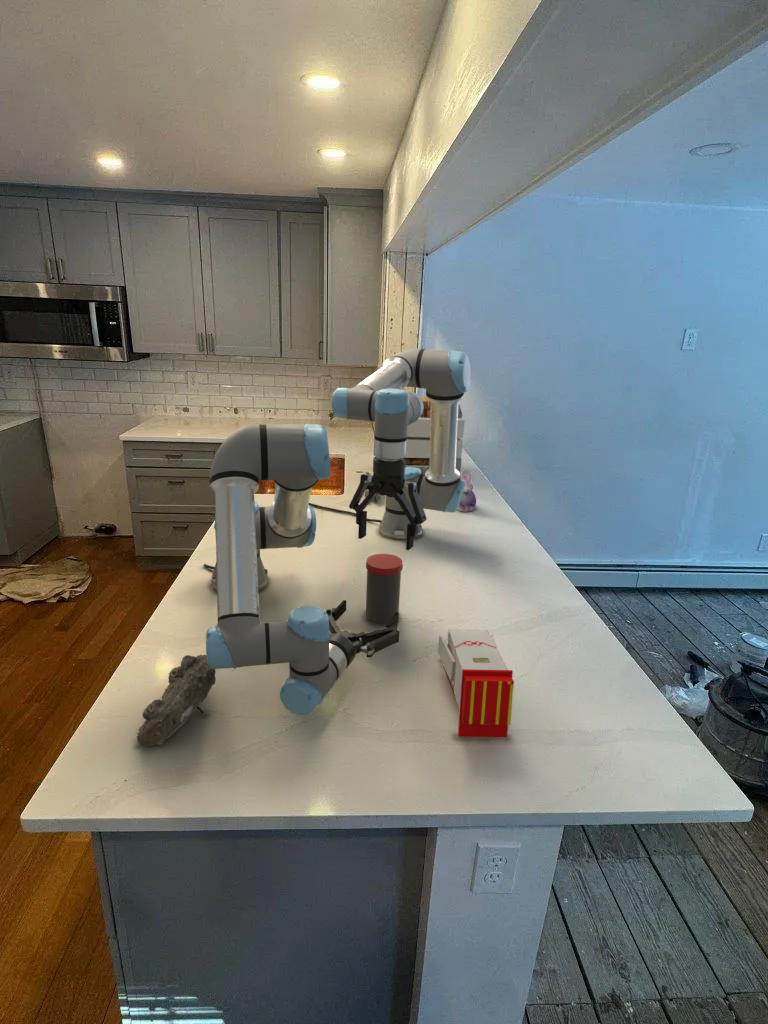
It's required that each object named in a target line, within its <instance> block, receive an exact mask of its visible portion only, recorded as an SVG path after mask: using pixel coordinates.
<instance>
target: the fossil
mask: <svg viewBox="0 0 768 1024" xmlns="http://www.w3.org/2000/svg"><path fill="white" fill-rule="evenodd" d="M216 670H217V669H212V668H211V667H210V666H209V665H208V663H207V656H206V654H197V656H193V655H189V654H187V655H184V656H183V657H182V660H181V661H180V666H177V667H176V666H175V667H173V668H172V669H171V670H170V671H169V673H168V683H169V684H168V685H167V687H166V688H165V689H164V690H165V691H163V693H162V695H161V699H154V700H152V702H151V703H149V704H148V705H147V706H146V708H144V709H143V712H142V716H141V717H142V718H143V719H145V721H144V722H143V724H142V725H141V726H140V727H139V728H138V732H137V734H136V735H137V736H136V739H137V742H138V744H140V745H141V744H142V745H143V746H144V747H150V746H151V747H152V746H156V745H159V746H160V745H162V744H163V743H164V742H165V741H167V740H168V739H169V738H170V737H171V736H172V735H174V734H175V732H176V731H177V730H178V729H179V728H181V727H182V726H183V725H184V724H185V723H187V720H188V719H190V715H192V714H194V712H195V711H196V710H197V711H198V712H199V713H200V714H201V715H203V714H205V712H204V710H203V709H202V708H200V706H199V705H200V703H203V702H204V701H205V700H206V699H207V698H208V695H209V693H210V691H211V689H212V687H213V686H214V685H215V684H216V682H217V680H216V672H217V671H216Z"/></svg>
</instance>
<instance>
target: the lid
mask: <svg viewBox="0 0 768 1024" xmlns="http://www.w3.org/2000/svg"><path fill="white" fill-rule="evenodd" d="M403 567H404V564H403V560H402V558H401V557H400V556H397V555H395V554H391V553H376V554H372V555H371V554H370V555H369V556H368V557H367V558H366V561H365V568H366V571H367V570H368V571H369V572H371V573H373V574H376V575H381V576H390V575H395V574H398V573H400V572H401V573H402V571H403Z"/></svg>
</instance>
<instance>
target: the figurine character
mask: <svg viewBox="0 0 768 1024" xmlns="http://www.w3.org/2000/svg"><path fill="white" fill-rule="evenodd" d="M374 487H375V486H374V485H373V483H372V481H371V482H370V483H368V486H367V488H366V490H365V492H364V499H365V498H366V497H367V496H368V495H369V493H370V492H371V491H372V490H373V488H374ZM380 497H381V495H380V494H378V495H377V496H376V497H375V498H374V499H373V500H374V502H375V503H376V502H377V501H378V500H377V499H380Z"/></svg>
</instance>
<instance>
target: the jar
mask: <svg viewBox="0 0 768 1024" xmlns="http://www.w3.org/2000/svg"><path fill="white" fill-rule="evenodd" d="M401 577H402V571H401V572H400V573H398V574H395V575H390V576H381V575H376V574H373V573H371V572H369V571H368V570H367V569H366V589H365V619H366V621H368V622H369V623H370V624H373V625H377V626H386V625H387V624H388V622H389V621H390V620H391V618H392V617H393V616H394V614H395V613H396V612H398V613H399V614H400V612H399V611H400V596H401V593H400V592H401Z"/></svg>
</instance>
